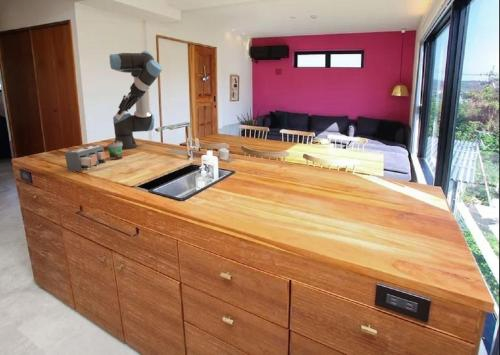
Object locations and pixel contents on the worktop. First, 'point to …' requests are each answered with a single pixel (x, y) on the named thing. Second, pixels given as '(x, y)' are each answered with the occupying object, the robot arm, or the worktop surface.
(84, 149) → the grey slotted holder
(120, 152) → the food container
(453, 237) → the worktop surface
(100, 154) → the plunger
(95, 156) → the plunger middle
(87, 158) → the plunger
